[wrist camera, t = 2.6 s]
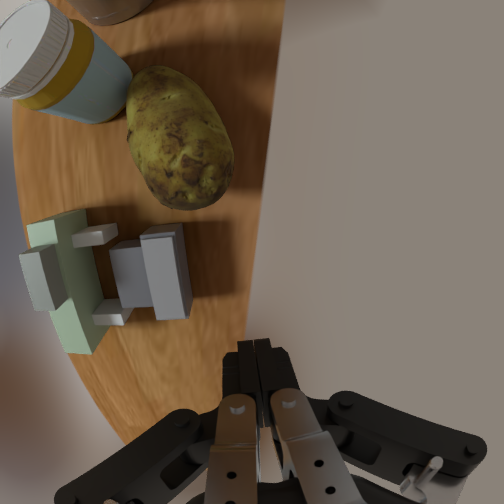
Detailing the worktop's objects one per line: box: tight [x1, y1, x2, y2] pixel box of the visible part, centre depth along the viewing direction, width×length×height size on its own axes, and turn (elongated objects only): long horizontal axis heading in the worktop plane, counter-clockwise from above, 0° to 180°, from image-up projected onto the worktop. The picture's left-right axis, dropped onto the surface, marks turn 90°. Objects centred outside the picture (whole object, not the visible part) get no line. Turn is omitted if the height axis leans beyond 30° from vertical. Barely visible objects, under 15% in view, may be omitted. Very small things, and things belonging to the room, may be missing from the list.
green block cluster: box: [19, 209, 134, 354], centre depth 22 cm, size 13×7×8 cm, turn 4°
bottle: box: [0, 0, 133, 124], centre depth 14 cm, size 7×7×15 cm
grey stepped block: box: [109, 223, 193, 320], centre depth 24 cm, size 8×6×4 cm
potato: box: [126, 65, 234, 210], centre depth 19 cm, size 8×13×8 cm, turn 6°
